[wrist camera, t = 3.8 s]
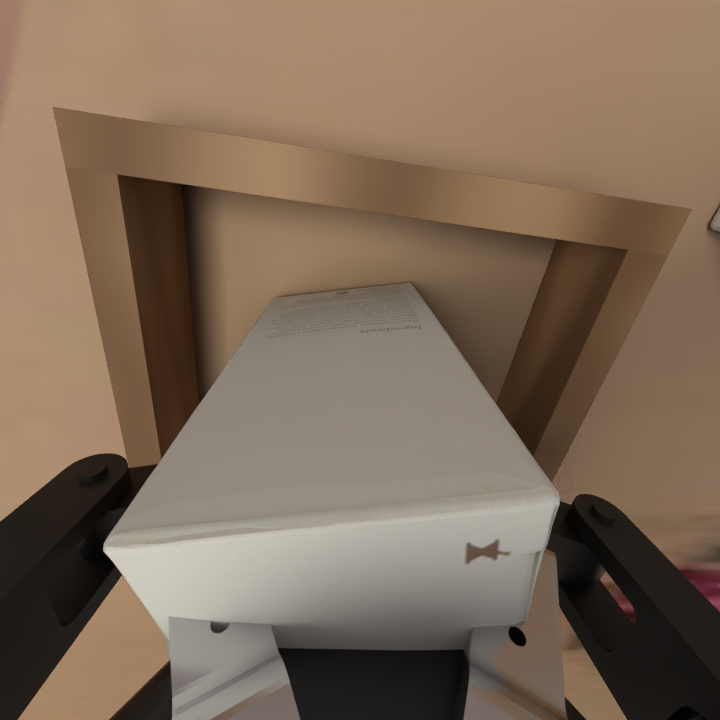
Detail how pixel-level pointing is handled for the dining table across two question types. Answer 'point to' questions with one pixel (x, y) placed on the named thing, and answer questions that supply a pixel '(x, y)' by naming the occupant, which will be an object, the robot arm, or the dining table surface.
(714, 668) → the robot arm
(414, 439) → the small box
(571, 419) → the frame
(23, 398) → the dining table surface
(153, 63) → the dining table surface
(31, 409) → the dining table surface
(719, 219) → the supplement box
